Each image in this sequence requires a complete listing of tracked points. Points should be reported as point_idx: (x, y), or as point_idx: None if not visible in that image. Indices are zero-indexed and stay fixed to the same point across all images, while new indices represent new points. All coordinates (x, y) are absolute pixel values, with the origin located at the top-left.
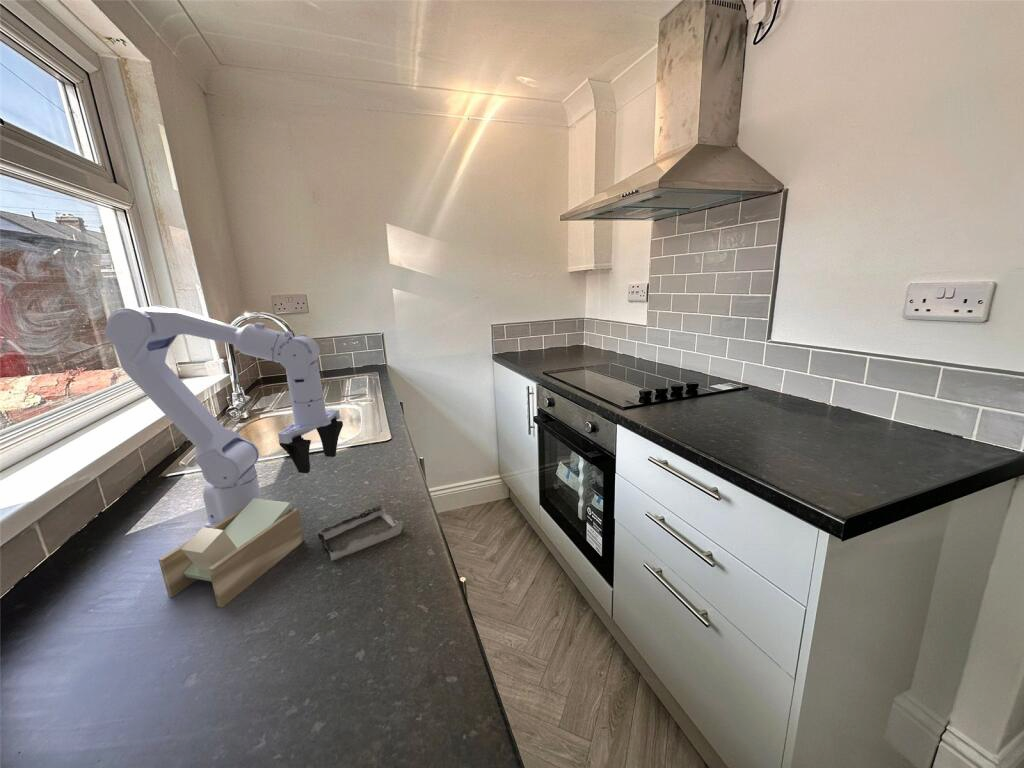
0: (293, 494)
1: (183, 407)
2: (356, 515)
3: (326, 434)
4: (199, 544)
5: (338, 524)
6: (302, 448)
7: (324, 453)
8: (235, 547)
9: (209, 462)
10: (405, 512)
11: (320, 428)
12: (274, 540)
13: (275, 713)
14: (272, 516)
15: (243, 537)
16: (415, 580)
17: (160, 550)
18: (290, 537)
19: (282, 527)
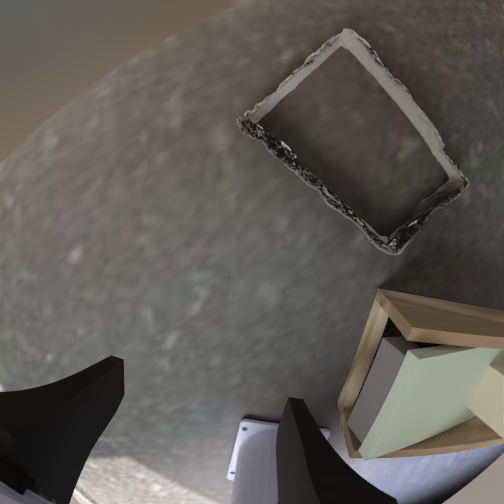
0: (162, 412)
1: None
2: (302, 176)
3: (68, 451)
4: None
5: (354, 211)
6: (382, 492)
7: (119, 404)
8: (497, 370)
9: None
10: (237, 59)
11: (61, 493)
12: (468, 320)
13: None
14: (445, 368)
15: (469, 382)
16: (469, 10)
17: None
18: (422, 306)
19: (454, 325)
